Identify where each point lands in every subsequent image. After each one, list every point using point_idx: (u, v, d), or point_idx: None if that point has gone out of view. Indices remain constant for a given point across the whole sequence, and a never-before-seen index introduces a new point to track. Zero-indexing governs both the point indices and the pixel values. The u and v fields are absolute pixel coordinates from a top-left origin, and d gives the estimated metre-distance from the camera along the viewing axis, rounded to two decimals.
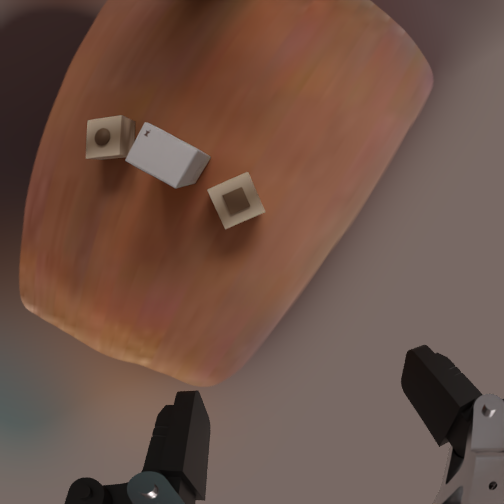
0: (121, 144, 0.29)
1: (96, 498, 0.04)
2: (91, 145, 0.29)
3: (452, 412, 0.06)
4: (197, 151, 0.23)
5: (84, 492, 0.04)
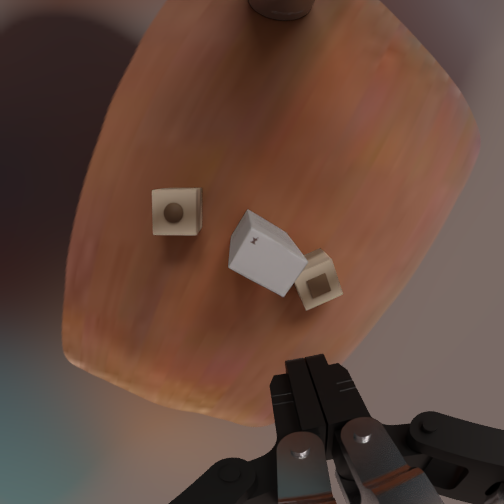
0: (196, 223, 0.30)
1: (246, 477, 0.05)
2: (159, 220, 0.30)
3: (327, 428, 0.07)
4: None
5: (230, 474, 0.05)
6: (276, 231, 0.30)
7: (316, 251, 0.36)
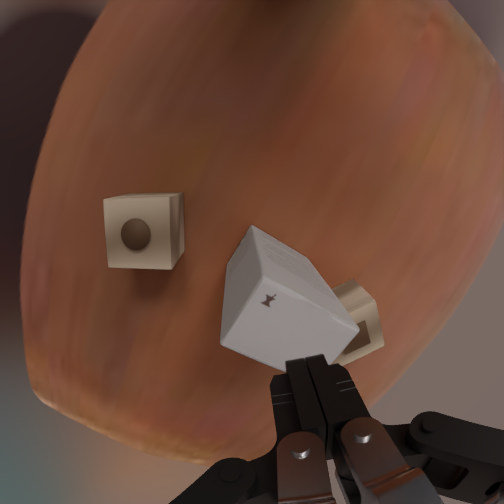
0: (172, 250, 0.19)
1: (246, 477, 0.05)
2: (116, 246, 0.18)
3: (327, 428, 0.07)
4: None
5: (230, 474, 0.05)
6: (298, 264, 0.19)
7: (348, 284, 0.25)
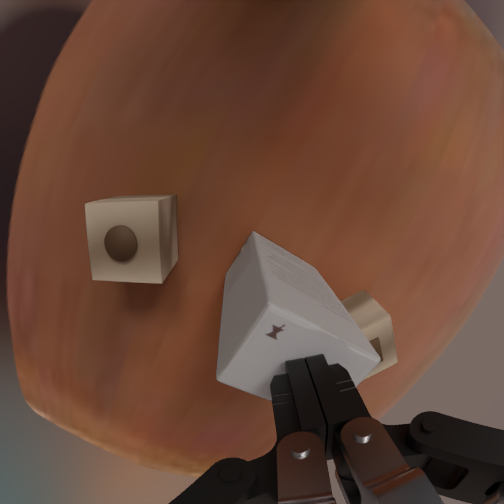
0: (162, 261, 0.16)
1: (246, 477, 0.05)
2: (100, 256, 0.16)
3: (327, 428, 0.07)
4: None
5: (230, 474, 0.05)
6: (307, 278, 0.16)
7: (359, 295, 0.22)
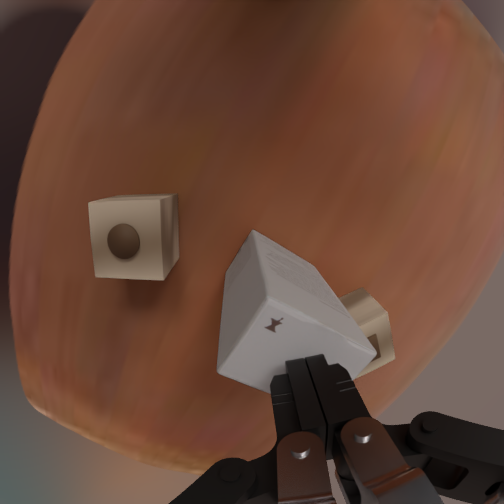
0: (164, 259, 0.17)
1: (246, 477, 0.05)
2: (103, 254, 0.16)
3: (327, 428, 0.07)
4: None
5: (230, 475, 0.05)
6: (305, 275, 0.17)
7: (357, 293, 0.22)
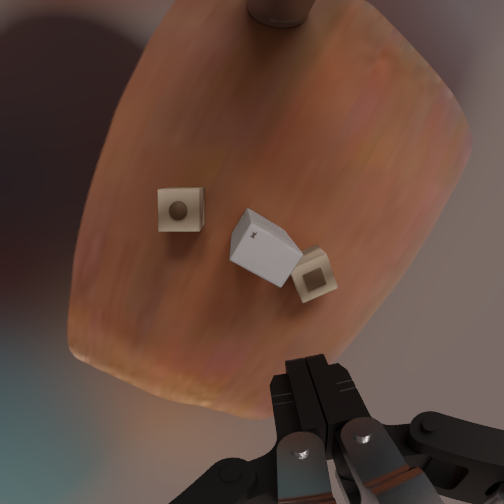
0: (199, 220, 0.33)
1: (247, 477, 0.05)
2: (164, 218, 0.32)
3: (327, 428, 0.07)
4: (302, 255, 0.27)
5: (230, 475, 0.05)
6: (274, 227, 0.32)
7: (312, 247, 0.38)
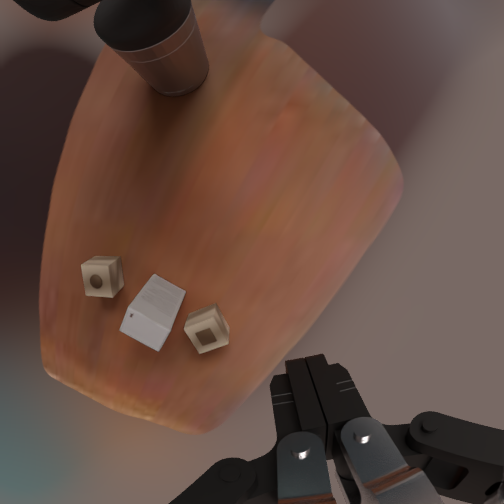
0: (112, 288, 0.38)
1: (246, 477, 0.05)
2: (88, 286, 0.37)
3: (327, 428, 0.07)
4: (170, 330, 0.32)
5: (231, 475, 0.05)
6: (165, 297, 0.38)
7: (211, 306, 0.43)
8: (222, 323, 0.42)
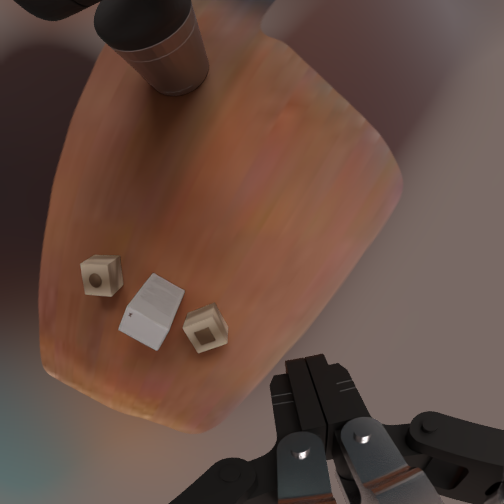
0: (111, 287, 0.38)
1: (246, 477, 0.05)
2: (87, 285, 0.37)
3: (327, 428, 0.07)
4: (168, 330, 0.32)
5: (230, 474, 0.05)
6: (164, 297, 0.38)
7: (210, 305, 0.43)
8: (221, 322, 0.42)
